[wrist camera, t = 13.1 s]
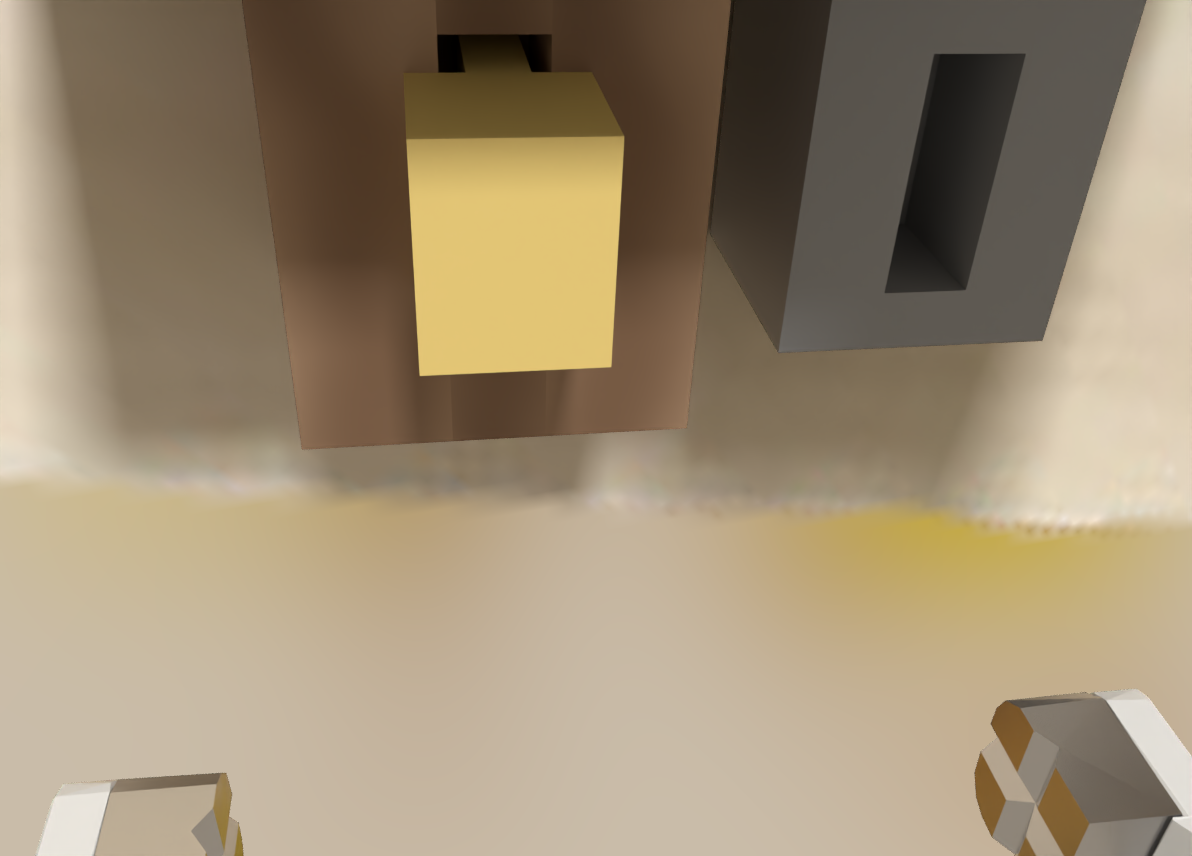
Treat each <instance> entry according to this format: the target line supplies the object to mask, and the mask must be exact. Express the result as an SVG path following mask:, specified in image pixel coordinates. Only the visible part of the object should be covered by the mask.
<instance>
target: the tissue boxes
mask: <svg viewBox="0 0 1192 856" xmlns="http://www.w3.org/2000/svg"><path fill="white" fill-rule="evenodd" d="M242 4H243V11H244V19H245V26H246V34H247V41H248V49H249V56H250V64H251V71H252V79H253V86H254V94H255V101H256V109H257V116H258V124H259V131H260V139H261V146H262V154H263V161H264V169H265V176H266V184H267V191H268V198H269V206H270V213H271V221H272V228H273V236H274V243H275V251H276V258H277V266H278V273H279V281H280V288H281V296H282V303H283V311H284V318H285V326H286V333H287V341H288V348H289V356H290V363H291V371H292V378H293V386H294V393H295V401H296V408H297V416H298V423H299V431H300V438H301V445H302V449H320V448H338V447H356V446H374V445H392V444H410V443H428V442H446V441H464V440H482V439H500V438H518V437H535V436H553V435H571V434H589V433H607V432H625V431H643V430H661V429H679V428H687V420H688V411H689V401H690V392H691V382H692V372H693V363H694V353H695V343H696V334H697V324H698V315H699V305H700V295H701V286H702V276H703V266H704V257H705V247H706V238H707V228H708V218H709V209H710V199H711V190H712V180H713V170H714V161H715V151H716V141H717V132H718V122H719V113H720V103H721V93H722V84H723V74H724V65H725V55H726V45H727V36H728V26H729V16H730V7H731V0H242ZM456 34H518V36H519V38H520V41H521V44H522V47H523V50H524V52H525V55H526V58H527V61H528V64H529V66H530V69H531V72H592V73H593V75H594V77H595V79H596V81H597V83H598V85H599V87H600V89H601V91H602V93H603V95H604V97H605V99H606V101H607V103H608V105H609V107H610V109H611V111H612V113H613V115H614V117H615V119H616V121H617V123H618V125H619V127H620V129H621V131H622V133H623V135H624V153H623V171H622V188H621V206H620V223H619V241H618V258H617V276H616V293H615V311H614V328H613V346H612V363H611V367H605V368H583V369H561V370H539V371H518V372H496V373H474V374H452V375H430V376H420V373H419V356H418V338H417V320H416V302H415V284H414V267H413V249H412V231H411V213H410V196H409V178H408V160H407V142H406V121H405V98H404V76H403V73H457V44H456Z"/></svg>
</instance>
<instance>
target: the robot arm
mask: <svg viewBox="0 0 1192 856" xmlns="http://www.w3.org/2000/svg"><path fill="white" fill-rule="evenodd" d="M991 725H992V727H993V729H994V731H995V733H996V735H997V738H996V739H995V740H994V741H992V742H991V743H990V744H989V745H988V746H986V747H985V748H984V749H983V750H982V751H981V752H980V756H979V759H978V762H977V766H976V769H975V789H976V798H977V802H978V805H979V809H980V812H981V815H982V818H983V819H984V822H985V824H986V826H987V828H988V830H989V832H990V834H991V836H992V838H993V839H995V840H996V841H998V842H999V843H1000V844H1002V845H1003V846H1004V847H1006V848H1007V849H1008V850H1010V851H1011V852H1012V853H1014V854H1015V855H1014V856H1192V756H1191V755H1190V754H1189V752H1188V751H1187V749H1186V748H1185V747H1184V745H1183V744H1182V742H1180V740H1179V738H1178V737H1177V736H1176V734H1175V733H1174V732H1173V730H1172V729H1171V727H1170V726H1169V725H1168V723H1167V722H1166V721H1165V719H1164V718H1163V717H1162V715H1161V714H1160V712H1159V711H1158V710H1157V709H1156V707H1155V706H1154V704H1153V703H1152V702H1151V700H1150V699H1149V698H1148V697H1147V696H1146V695H1144V694H1143V693H1142V692H1140V691H1139V690H1137V689H1126V690H1115V691H1104V692H1094V693H1086V692H1082V693H1073V694H1063V695H1054V696H1044V697H1035V698H1025V699H1017V700H1007V701H1005V702H1003V703H1002V704H1001V705H1000V706H998V707H997V708H996V711H995V714H994V716H993V719H992V722H991ZM231 799H232V792H231V788H230V784H229V781H228V777H227V774H226V773H212V774H196V775H180V776H164V777H148V778H134V779H118V780H106V781H94V782H81V783H68V784H63V785H62V786H61V788H60V789H59V791H58V792H57V794H56V795H55V797H54V798H53V800H52V803H51V806H50V809H49V812H48V815H47V819H46V823H45V825H44V828H43V832H42V835H41V838H40V842H39V845H38V848H37V851H36V855H35V856H243V844H242V837H241V832H240V827H239V823H238V822H237V821H235V820H234V819H232V818H231V817H229V813H230V806H231Z"/></svg>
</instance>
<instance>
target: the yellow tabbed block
mask: <svg viewBox="0 0 1192 856" xmlns="http://www.w3.org/2000/svg"><path fill="white" fill-rule="evenodd" d="M456 44H457V73H403V76H404V98H405V121H406V142H407V160H408V178H409V196H410V213H411V231H412V249H413V267H414V284H415V302H416V320H417V338H418V356H419V373H420V376H430V375H452V374H474V373H496V372H518V371H539V370H561V369H583V368H605V367H611V363H612V346H613V328H614V311H615V293H616V276H617V258H618V241H619V223H620V206H621V188H622V171H623V153H624V135H623V133H622V131H621V129H620V127H619V125H618V123H617V121H616V119H615V117H614V115H613V113H612V111H611V109H610V107H609V105H608V103H607V101H606V99H605V97H604V95H603V93H602V91H601V89H600V87H599V85H598V83H597V81H596V79H595V77H594V75H593V73H592V72H531V69H530V66H529V64H528V61H527V58H526V55H525V52H524V50H523V47H522V44H521V41H520V38H519V36H518V34H456Z"/></svg>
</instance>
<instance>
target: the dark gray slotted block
mask: <svg viewBox="0 0 1192 856" xmlns="http://www.w3.org/2000/svg"><path fill="white" fill-rule="evenodd" d="M1145 3H1146V0H735V4H734V14H733V23H732V33H731V42H730V52H729V61H728V70H727V80H726V89H725V99H724V108H723V118H722V127H721V137H720V146H719V156H718V165H717V174H716V184H715V193H714V203H713V212H712V222H711V231H710V234H711V236H712V238H713V239H714V241H715V243H716V245H717V246H718V248H719V250H720V252H721V254H722V255H723V257H724V259H725V261H726V262H727V264H728V266H729V268H730V269H731V271H732V273H733V275H734V276H735V278H736V280H737V282H738V283H739V285H740V287H741V289H742V290H743V292H744V294H745V296H746V297H747V299H748V301H749V303H750V304H751V306H752V308H753V310H754V311H755V313H756V315H757V317H758V318H759V320H760V322H761V324H762V325H763V327H764V329H765V331H766V332H767V334H768V336H769V338H770V339H771V341H772V343H773V345H774V346H775V348H776V350H777V352H778V353H786V352H808V351H830V350H852V349H873V348H895V347H917V346H939V345H961V344H982V343H1004V342H1026V341H1042V340H1043V337H1044V334H1045V330H1046V327H1047V324H1048V321H1049V317H1050V314H1051V311H1052V308H1053V304H1054V301H1055V298H1056V294H1057V291H1058V288H1059V285H1060V281H1061V278H1062V275H1063V272H1064V268H1065V265H1066V262H1067V258H1068V255H1069V252H1070V249H1071V245H1072V242H1073V239H1074V236H1075V232H1076V229H1077V226H1078V222H1079V219H1080V216H1081V213H1082V209H1083V206H1084V203H1085V200H1086V196H1087V193H1088V190H1089V186H1090V183H1091V180H1092V177H1093V173H1094V170H1095V167H1096V164H1097V160H1098V157H1099V154H1100V150H1101V147H1102V144H1103V141H1104V137H1105V134H1106V131H1107V128H1108V124H1109V121H1110V118H1111V114H1112V111H1113V108H1114V105H1115V101H1116V98H1117V95H1118V92H1119V88H1120V85H1121V82H1122V79H1123V75H1124V72H1125V69H1126V65H1127V62H1128V59H1129V56H1130V52H1131V49H1132V46H1133V43H1134V39H1135V36H1136V33H1137V29H1138V26H1139V23H1140V20H1141V16H1142V13H1143V10H1144V7H1145Z"/></svg>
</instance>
